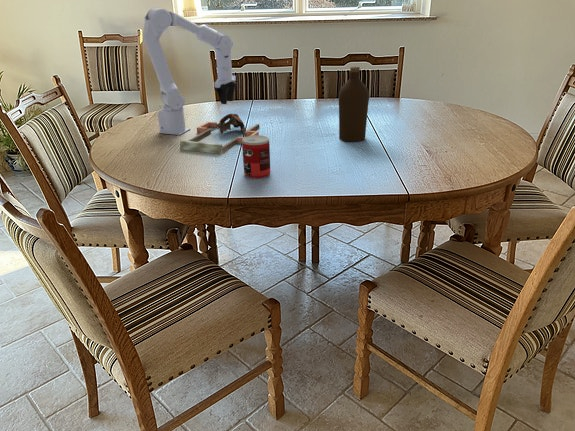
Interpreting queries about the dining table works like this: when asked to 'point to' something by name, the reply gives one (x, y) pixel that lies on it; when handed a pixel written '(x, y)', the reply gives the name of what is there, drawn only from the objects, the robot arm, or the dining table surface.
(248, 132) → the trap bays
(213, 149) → the channel
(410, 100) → the dining table surface
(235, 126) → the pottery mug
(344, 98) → the olive oil
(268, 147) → the canned food
